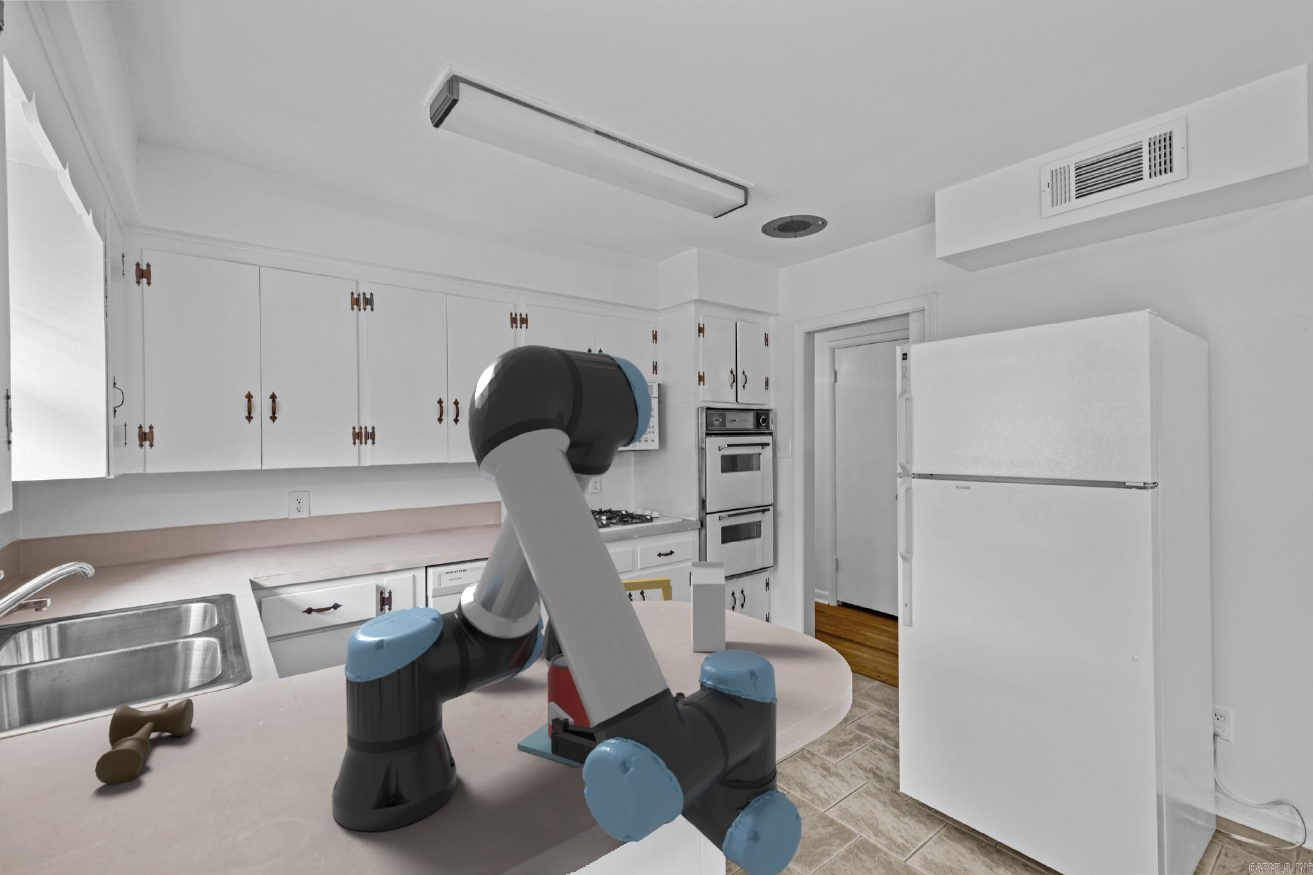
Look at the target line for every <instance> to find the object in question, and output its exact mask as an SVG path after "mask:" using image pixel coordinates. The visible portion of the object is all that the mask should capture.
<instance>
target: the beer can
mask: <svg viewBox="0 0 1313 875" xmlns="http://www.w3.org/2000/svg"><path fill="white" fill-rule="evenodd" d="M546 676H547V704H548V703H550V702H554V703H555V704H556V705H557V706H558V707H560V708H561V709H562V710H563V711H564V712H565V713H566V714H567V715H568V716H570V717H571V718H572V719H573V720H574V725H578V726H585V727H590V721H589V719H588V716H587V714H586V711H585V708H584V706H583V703H582V701H581V698H580V696H579V693H578V691H577V688H576V686H575V683H574V680H573V678H572V675H571V673H570V670H569V668H568V665H567V663H566V660H565V658H564V655H563V654H559V655H556V656H555V657H553V658H552V659H551V664H550V667H549V668H548V670H547V675H546ZM551 732H552V726H551V725H550V724H549V723H548V736H549V738H550V739H551Z"/></svg>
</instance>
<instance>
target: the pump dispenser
mask: <svg viewBox="0 0 1313 875" xmlns="http://www.w3.org/2000/svg"><path fill="white" fill-rule="evenodd" d="M543 635H544V641H543V646H542V649H541V651H542V658H543V659H544V663H545V665H546V667H547V669H549V667H550V664H551V659H552V658H553V657H555V656H556V655H559V654H563V653H562V650H561V647H560V645H559V642H558V640H557V637H556V635H555V632H554V630H553V627H552V625H551V622H550V619H549V618H548V619H547V622H546V625H545V629H544V634H543Z"/></svg>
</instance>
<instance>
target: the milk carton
mask: <svg viewBox="0 0 1313 875" xmlns="http://www.w3.org/2000/svg"><path fill="white" fill-rule="evenodd" d="M724 566H725V564H724V561H691V569H690V570H691V571H690V628H691V629H690V633H691V634H690V638H691V639H690V640H691V642H690V643H691V649H692V652H695V653H696V652H706V653H709V652H710V653H714V652H717V651H722V650H726V578H725V567H724Z"/></svg>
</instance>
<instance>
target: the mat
mask: <svg viewBox="0 0 1313 875" xmlns="http://www.w3.org/2000/svg"><path fill="white" fill-rule="evenodd" d="M590 727H592V726H591V724H590ZM516 748H517V750H519V751H522V752H526V753H528V754H529V753H530V754H533V755H536V756H539V757H542V758H546V759H549V760H553V761H556V762H558V763H559V762H560V763H562V764H563V763H564V764H566V765H570V766H572V767H576V768H579V767H580V766H582V764H581V763H578V762H575V761H572V760H569V759H566V758H563V757H560V756H557V755H554V754H552V753H551V739H550V738H549V736H548V721H547V722H546V723H544V724H543V725H542V726H540V727H538V729H536V730H535V731H533V732H531V734H529V735H528V736H526V737H525V738H523V739H522V740H521V741H519V742H517V747H516Z"/></svg>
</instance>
